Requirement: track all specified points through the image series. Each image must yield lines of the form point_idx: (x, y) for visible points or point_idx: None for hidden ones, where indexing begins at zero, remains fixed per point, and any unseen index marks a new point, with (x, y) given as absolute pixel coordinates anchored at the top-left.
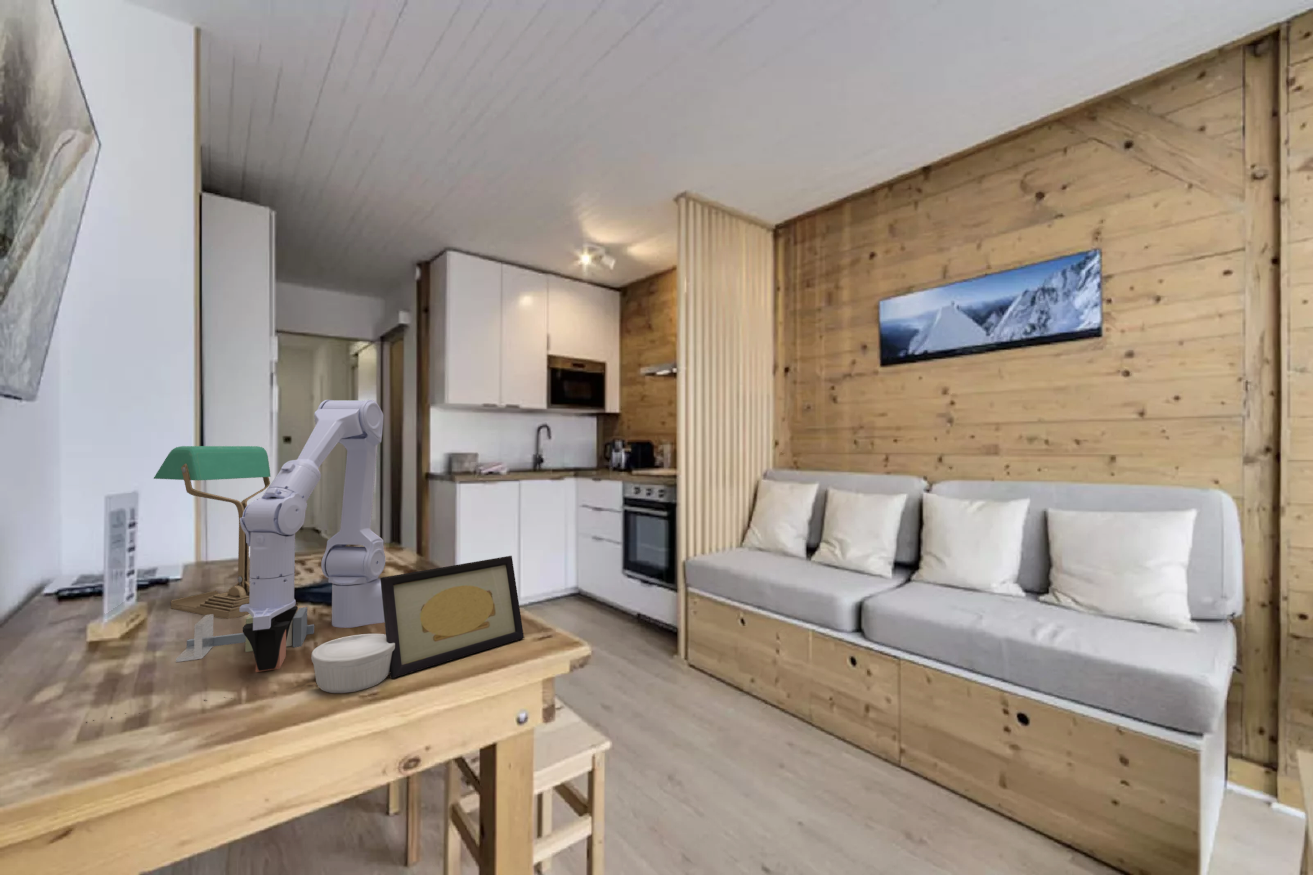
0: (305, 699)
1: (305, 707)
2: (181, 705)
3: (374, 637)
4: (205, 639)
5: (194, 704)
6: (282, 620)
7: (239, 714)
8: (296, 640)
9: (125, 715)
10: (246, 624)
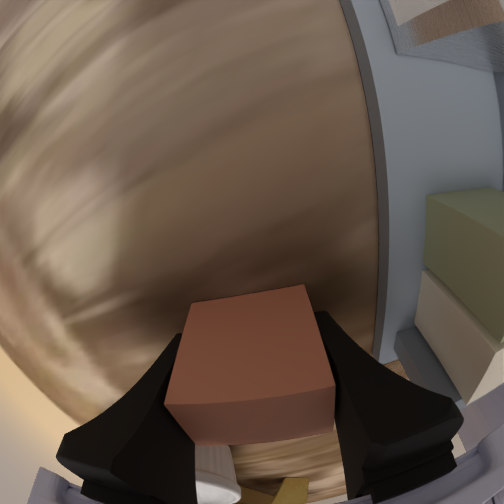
0: (96, 400)
1: (75, 399)
2: (43, 184)
3: (224, 498)
4: (471, 48)
5: (47, 216)
6: (346, 458)
7: (34, 328)
8: (403, 356)
9: (21, 83)
10: (104, 472)
